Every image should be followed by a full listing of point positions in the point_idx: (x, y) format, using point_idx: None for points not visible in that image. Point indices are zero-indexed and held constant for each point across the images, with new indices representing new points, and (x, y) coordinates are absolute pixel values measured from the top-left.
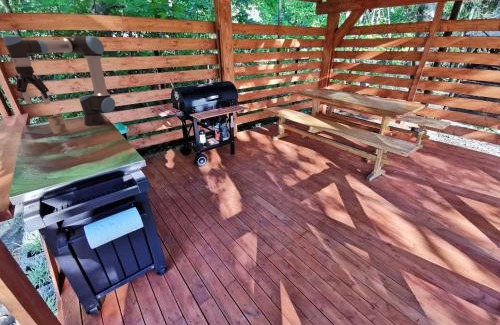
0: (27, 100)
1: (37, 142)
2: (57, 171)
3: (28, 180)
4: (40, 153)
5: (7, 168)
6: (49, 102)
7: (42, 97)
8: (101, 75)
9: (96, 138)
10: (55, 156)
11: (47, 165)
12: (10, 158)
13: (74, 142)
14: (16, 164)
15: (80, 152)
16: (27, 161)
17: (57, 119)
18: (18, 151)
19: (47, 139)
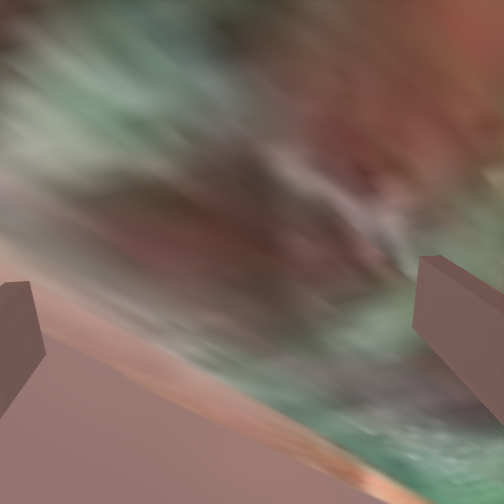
0: (14, 365)
1: (66, 183)
2: None
3: (481, 486)
4: (285, 314)
5: (305, 455)
6: (451, 266)
7: (493, 404)
8: None
9: (428, 4)
10: (400, 322)
11: (447, 397)
12: (198, 392)
13: (329, 122)
14: (301, 424)
15: (492, 251)
16: (318, 393)
17: None
18: (130, 324)
19: (66, 114)
